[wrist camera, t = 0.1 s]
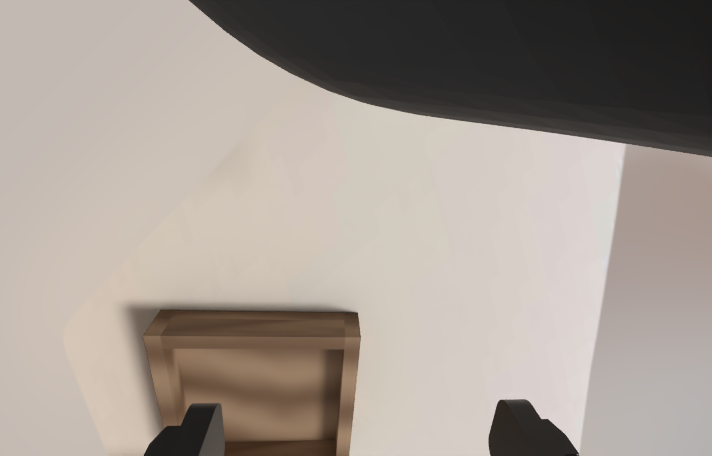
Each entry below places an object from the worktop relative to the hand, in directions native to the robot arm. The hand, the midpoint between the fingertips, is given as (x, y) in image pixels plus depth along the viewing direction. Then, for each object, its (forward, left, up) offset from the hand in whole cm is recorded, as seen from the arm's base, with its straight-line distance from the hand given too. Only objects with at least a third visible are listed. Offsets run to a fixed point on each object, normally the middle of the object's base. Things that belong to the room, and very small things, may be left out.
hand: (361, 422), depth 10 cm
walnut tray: (+18, -6, -17) cm, 25 cm away
